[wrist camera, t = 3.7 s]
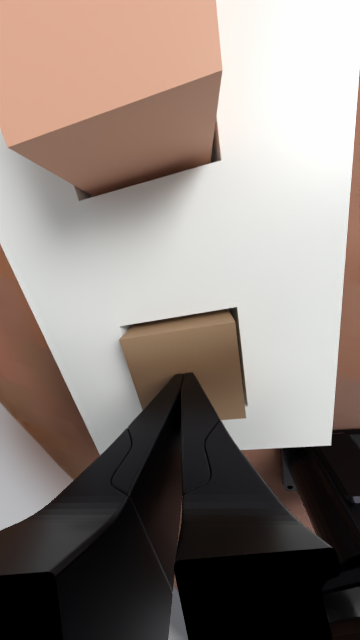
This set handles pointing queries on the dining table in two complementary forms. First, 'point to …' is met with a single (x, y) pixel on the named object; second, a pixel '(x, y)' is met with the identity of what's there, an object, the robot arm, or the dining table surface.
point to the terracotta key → (110, 87)
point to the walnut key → (188, 358)
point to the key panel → (213, 233)
